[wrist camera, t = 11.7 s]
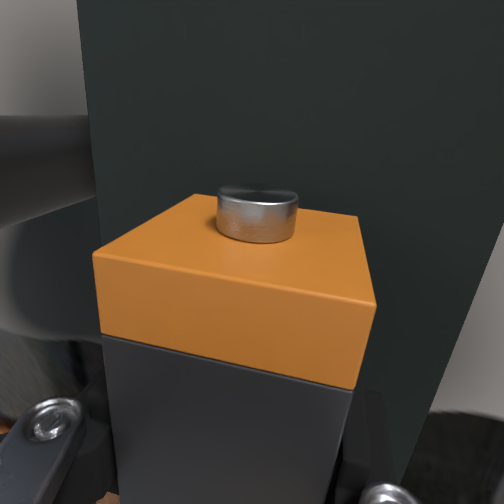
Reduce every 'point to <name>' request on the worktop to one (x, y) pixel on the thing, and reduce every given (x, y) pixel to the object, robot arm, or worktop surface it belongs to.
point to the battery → (232, 347)
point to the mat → (319, 144)
